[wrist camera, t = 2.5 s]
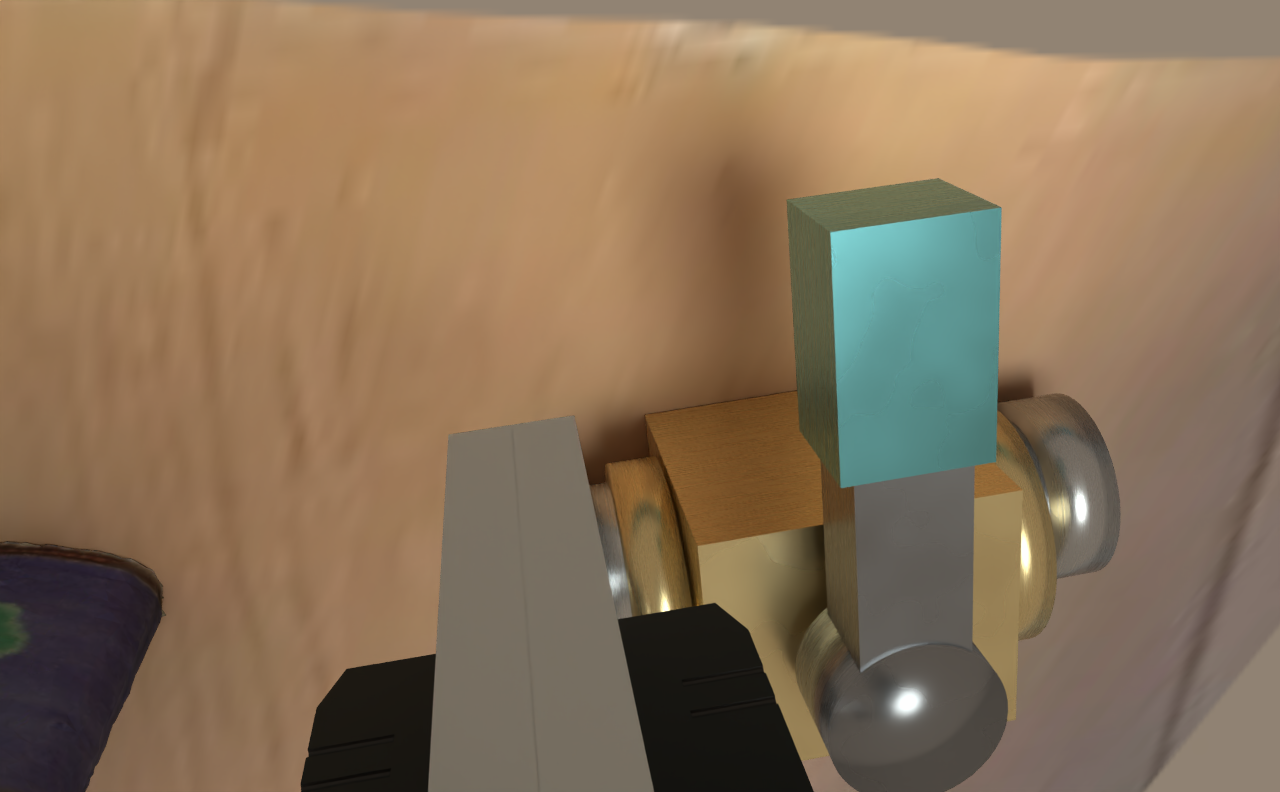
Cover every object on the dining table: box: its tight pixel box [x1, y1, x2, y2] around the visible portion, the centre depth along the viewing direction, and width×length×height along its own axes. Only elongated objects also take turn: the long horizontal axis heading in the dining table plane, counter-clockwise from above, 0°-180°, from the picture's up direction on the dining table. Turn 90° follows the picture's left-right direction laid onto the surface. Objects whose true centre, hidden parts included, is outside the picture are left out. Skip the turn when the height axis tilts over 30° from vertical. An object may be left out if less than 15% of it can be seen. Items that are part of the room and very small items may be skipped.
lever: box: [787, 178, 1008, 792], centre depth 21 cm, size 12×4×2 cm, turn 6°
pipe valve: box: [589, 391, 1120, 761], centre depth 27 cm, size 15×6×8 cm, turn 96°
